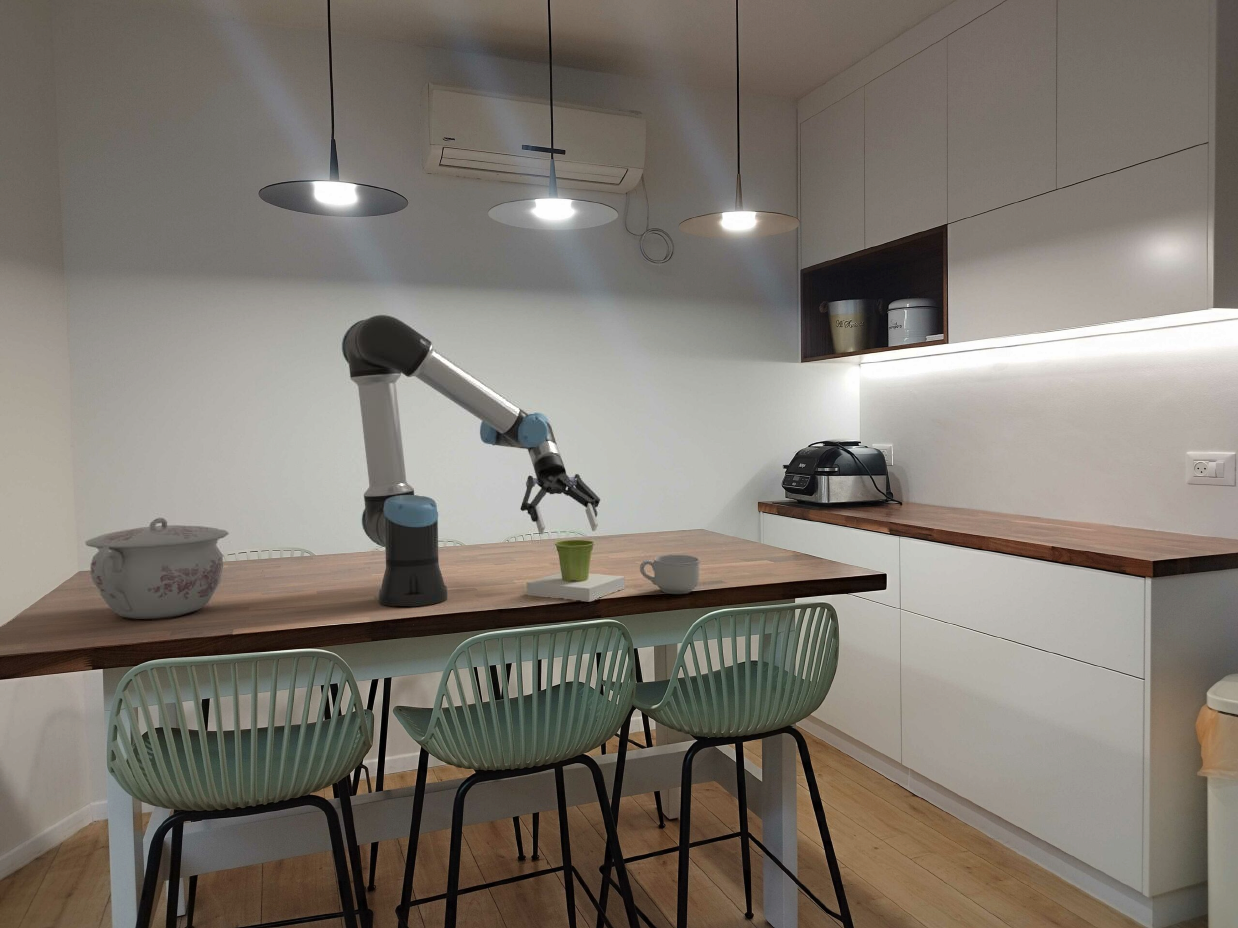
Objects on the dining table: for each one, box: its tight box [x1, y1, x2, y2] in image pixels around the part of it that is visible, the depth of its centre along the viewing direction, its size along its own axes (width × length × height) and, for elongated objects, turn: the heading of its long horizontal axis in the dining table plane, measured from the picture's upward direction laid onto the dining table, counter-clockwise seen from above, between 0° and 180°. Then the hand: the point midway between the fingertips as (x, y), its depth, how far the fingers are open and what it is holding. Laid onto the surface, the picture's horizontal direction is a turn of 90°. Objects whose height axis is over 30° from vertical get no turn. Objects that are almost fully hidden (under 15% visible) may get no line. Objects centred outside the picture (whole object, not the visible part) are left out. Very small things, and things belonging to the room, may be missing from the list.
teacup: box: [639, 553, 701, 595], centre depth 202 cm, size 14×11×8 cm
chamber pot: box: [84, 517, 230, 620], centre depth 187 cm, size 28×27×21 cm
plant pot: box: [554, 539, 596, 581], centre depth 203 cm, size 9×9×9 cm
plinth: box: [526, 572, 626, 603], centre depth 203 cm, size 17×16×3 cm
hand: (569, 529), depth 208 cm, fingers open, 13 cm apart
